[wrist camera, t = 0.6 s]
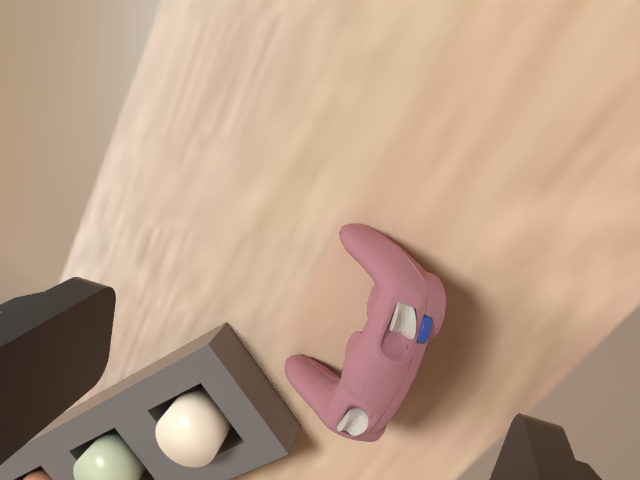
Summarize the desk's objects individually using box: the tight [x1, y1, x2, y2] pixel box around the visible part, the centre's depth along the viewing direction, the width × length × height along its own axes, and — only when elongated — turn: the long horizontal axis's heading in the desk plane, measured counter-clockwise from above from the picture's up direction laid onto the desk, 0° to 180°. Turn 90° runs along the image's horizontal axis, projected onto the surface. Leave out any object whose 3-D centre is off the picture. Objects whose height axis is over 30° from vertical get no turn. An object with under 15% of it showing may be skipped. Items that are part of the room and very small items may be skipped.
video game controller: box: [285, 224, 446, 442], centre depth 27 cm, size 10×5×7 cm
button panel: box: [0, 322, 300, 480], centre depth 35 cm, size 22×8×2 cm, turn 123°
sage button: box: [73, 429, 147, 480], centre depth 33 cm, size 4×4×2 cm
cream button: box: [155, 386, 232, 468], centre depth 31 cm, size 4×4×2 cm
